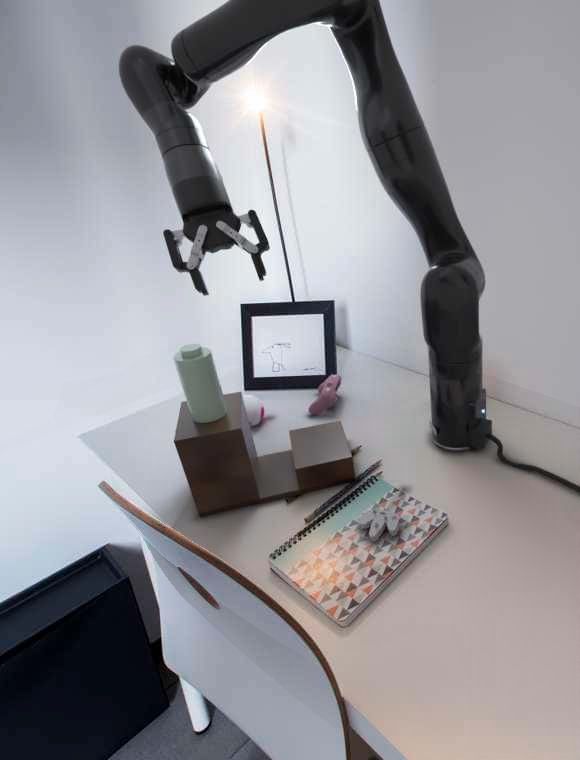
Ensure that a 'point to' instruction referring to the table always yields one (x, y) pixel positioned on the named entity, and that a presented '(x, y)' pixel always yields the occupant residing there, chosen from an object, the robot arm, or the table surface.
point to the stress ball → (253, 409)
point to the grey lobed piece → (380, 522)
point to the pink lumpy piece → (326, 394)
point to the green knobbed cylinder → (200, 383)
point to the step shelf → (256, 460)
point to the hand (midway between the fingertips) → (234, 286)
